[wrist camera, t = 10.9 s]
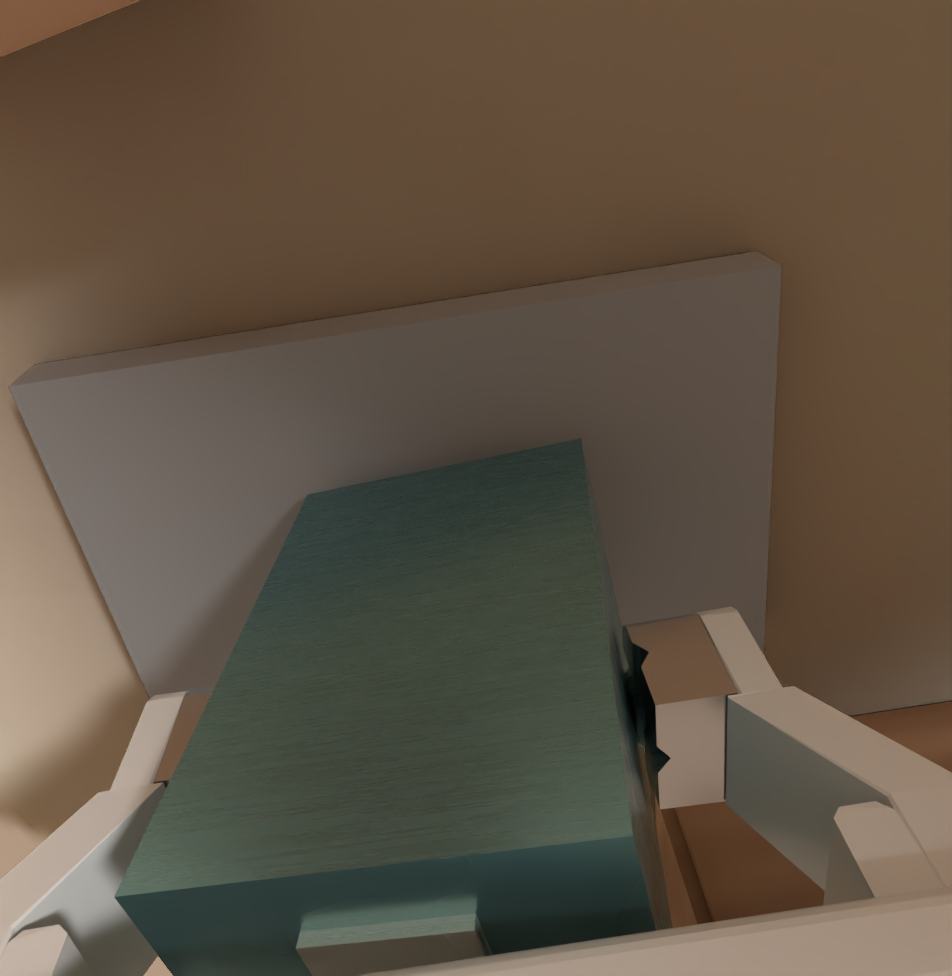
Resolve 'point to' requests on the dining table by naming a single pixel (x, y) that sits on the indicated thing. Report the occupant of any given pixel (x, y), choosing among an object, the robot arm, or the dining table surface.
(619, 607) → the felt pad
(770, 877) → the block
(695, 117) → the dining table surface
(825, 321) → the dining table surface
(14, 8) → the block
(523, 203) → the dining table surface
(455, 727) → the block
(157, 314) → the dining table surface
